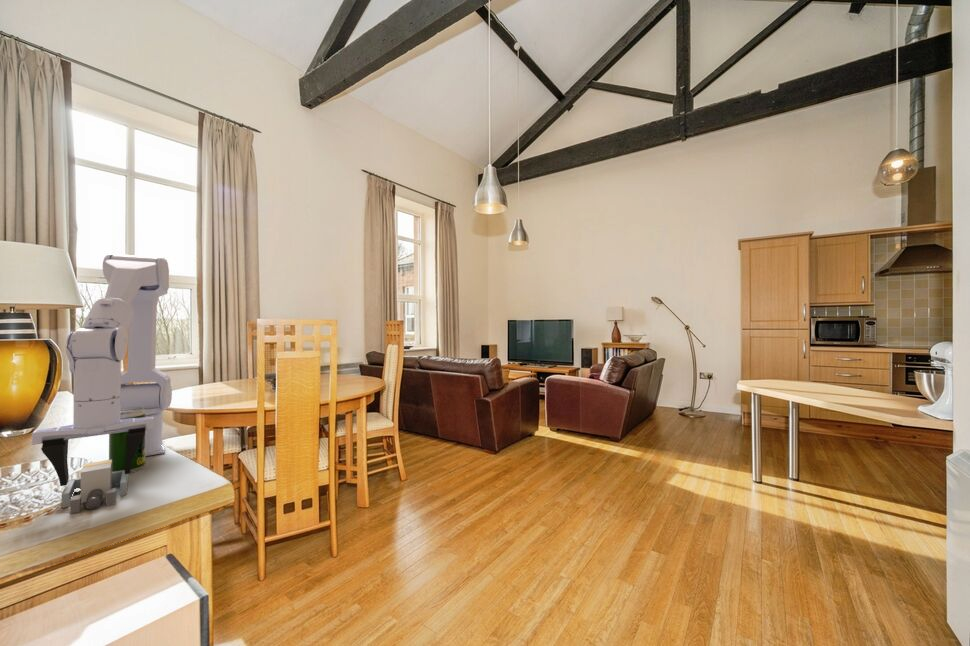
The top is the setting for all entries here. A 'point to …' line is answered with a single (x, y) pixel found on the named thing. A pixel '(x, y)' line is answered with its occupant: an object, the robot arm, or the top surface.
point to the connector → (95, 482)
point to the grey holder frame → (117, 478)
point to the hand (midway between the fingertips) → (97, 477)
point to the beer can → (119, 444)
